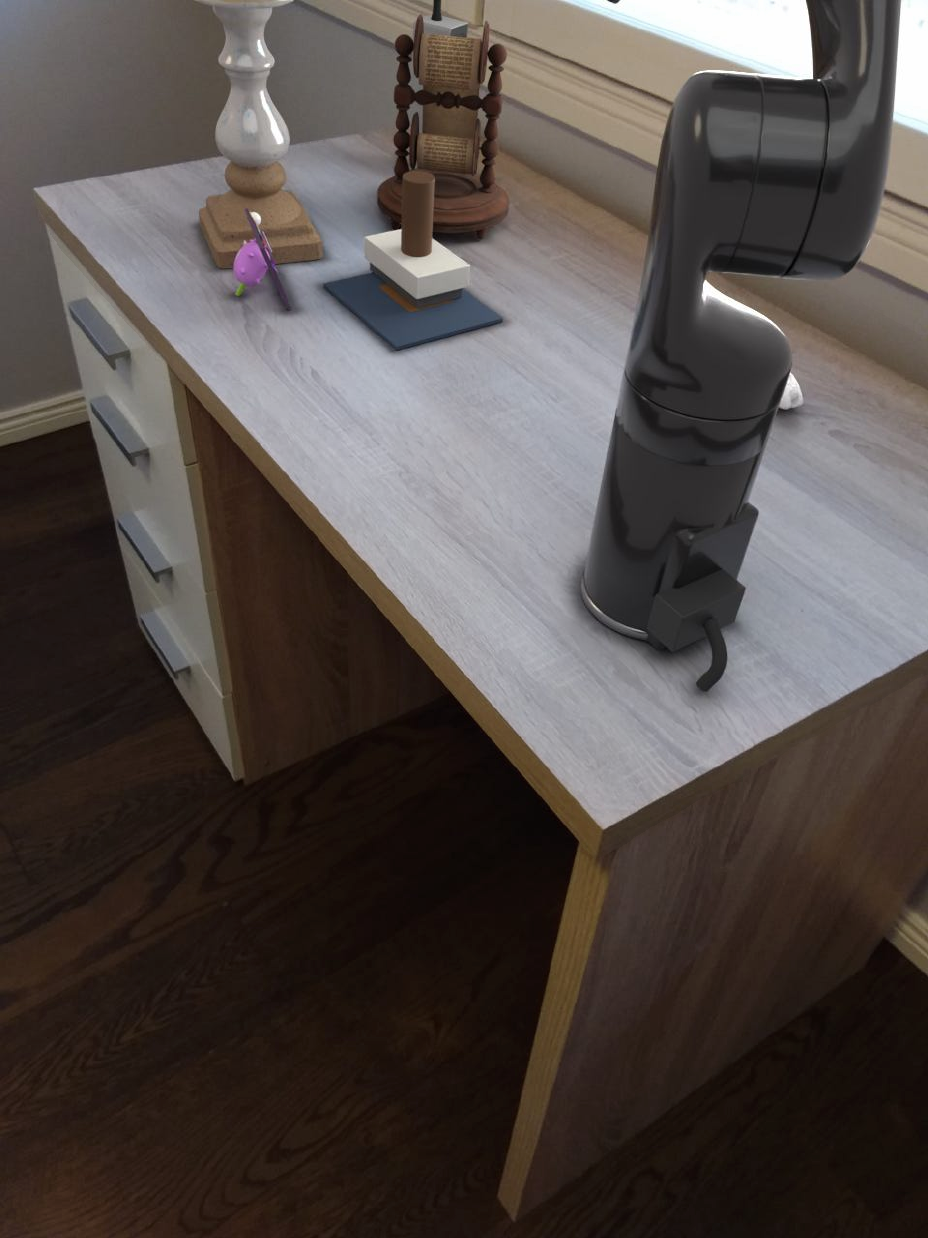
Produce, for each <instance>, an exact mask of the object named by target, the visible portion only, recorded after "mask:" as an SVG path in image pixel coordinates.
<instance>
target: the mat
mask: <svg viewBox="0 0 928 1238" xmlns="http://www.w3.org/2000/svg"><path fill="white" fill-rule="evenodd" d="M322 287H323V289H325V290H326V291H327V292H328V293H329V294H330V295H332V296H333V297H334V298H335V299H336V300H337V301H339V302H340V303H341V304H342V305H343V306H345V308H346V309H348V310H349V311H350V312H351V313H353V314H354V315H355V316H356V317H357V318H358V319H359V320H361V321H362V322H363V323H364V324H366V326H368V327H369V328H370V329H371V330H372V331H373V332H375V333H376V334H377V335H378V336H379V337H380V338H381V339H383V340H384V342H386V343H387V344H388V345H390V347H392V348H393V349H394V350H395V351H400V350H404V349H407V348H411V347H415V346H418V345H422V344H426V343H430V342H434V341H437V340H441V339H445V338H448V337H452V336H455V335H459V334H462V333H467V332H470V331H473V330H476V329H481V328H485V327H489V326H492V325H496V324H500V323H502V322H503V320H504V318H503V317H502V316H501V315H500V314H499V313H497V312H496V311H494V310H493V309H491V307H488V305H486V304H485V303H483V302H482V301H481V300H479V299H478V298H477V297H475V296H474V295H472V294H471V293H470V292H469V291H468V290H466V289H465V288H462V297H461V298H457V299H453V300H449V301H445V302H441V303H437V304H433V305H429V306H425V307H421V308H417V307H415V306H414V305H413V304H412V303H410V302H409V301H408V300H407V299H406V298H404V297H403V296H402V295H401V294H399V293H398V292H397V291H396V290H394V289H393V288H392V287H391V286H389V285H388V284H387V283H386V282H384V281H383V280H382V279H381V278H379V277H378V276H377V275H376V274H375V273H373V272H372V271H371V272H368V273H364V274H359V275H355V276H350V277H346V278H342V279H337V280H333V281H328V282H325V283H324V282H323V285H322Z"/></svg>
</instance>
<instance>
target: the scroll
mask: <svg viewBox="0 0 928 1238" xmlns="http://www.w3.org/2000/svg"><path fill="white" fill-rule="evenodd" d="M423 17H424V16H423V14H419V15H418V16H417V21H416V26H415V34H414V43H413V40H412V38H413V37H411V36H410V35H409V34H406V33H403V34H400V35H399V36H398V37H396V39H395V41H394V49H395V52H397V54H398V56H397V57H396V58H395V59H396V61H397V62H399V64H398V67H397V71H396V75H395V77H396V81H397V84H396V85H395V86H394V89H393V102H394V104H395V109H397V110H398V112H397V115H396V119H395V127H396V129H397V131H396V132H395V133H394V135H393V138H392V139H393V145H394V147H395V148H396V150H395V151H394V155H395V156H397V158H396V161H395V163H394V166H393V172H394V175H393V176H390V177H388V178H387V179H385V180H384V181H382V182H381V183H380V184H379V186H378V187H377V191H376V206H377V208H378V209H379V211H380V212H381V214H383V215H384V216H385V217H387V218H388V219H389V222H390V227H391V229H392V231H394V230H399V227H400V226H401V225H402V187H403V175H404V174H405V173H407V172H410V171H423V172H428V173H430V174H432V175H433V176H434V177H435V187H434V210H433V232H434V233H447V234H449V233H450V234H451V233H453V234H455V233H469V232H475V235H476V239H478V240H480V241H482V240H483V239H484V238H485V235H486V231H487V229H489V228H491V227H494V226H496V225H498V224H499V223H502V222H503V221H504V220H505V219H506V217H507V216H508V215H509V210H510V196H509V194H508V193H507V191H506V190H505V189H504V188H503V187H502V186H500V185H499V184H497V183H496V174H495V171H494V167H493V166H495V165H496V164H497V161H496V160H495V158H496V157H497V156H498V155H499V151H500V148H499V144H498V143H497V141H496V139H497V138H498V137H499V129H498V123H497V120H499V119H500V115H502V111H503V102H504V101H503V100H504V99H503V96H502V95H501V94H500V93H501V91H502V89H503V80H502V76H501V75H502V74H501V73H502V72H503V71H505V67H504V66H502V65H504V63H505V62H506V60H507V57H508V52H507V49H506V47H505V46H504V45H503V44H501V43H494V44H492V45H491V46H490V45H489V44H490V23H489V22H488V20H485V22H484V26H483V32H482V38H474V37H467V38H466V37H456V36H446V35H436V34H426V33H424V22H423ZM489 46H490V47H489ZM412 51H413V70H414V75H415V76H416V78H419V85H423V90H419V91H417V92H414V89H412V87H411V84H410V82H411V77H412V73H411V70H410V66H409V63H410V62H411V63H412V57H410V55H412ZM488 61H489V63H490V64H491V65H489V66H488ZM487 66H488V70H489V71H491V72H490V76H489V78H488V82H487V86H486V87H487V90H488V92H489V93H486V95H485V96H483V98H481V97H480V88H481V85H483V83H485V80H486V75H487ZM414 101H415V102H417V103H418V104H419V105H423V125H422V133H419V115H418V112H415V114H414V115H413V118H412V123H411V130H410V118H409V114H408V111H409V110H411V104H413V102H414ZM479 109H481V110H482V111H483V112H484V113H485V115H484V116H485V118H486V119H487V121H486V124H485V127H484V131H483V135H484V138H485V139H486V140H484V141H483V142H482V144H481V133H482V122H481V120H480V118H479ZM408 130H409V132H408ZM407 149H408V150H407ZM480 152H481V155H482V157H483V158H482V160H481V164H482V165H484V166H483V168H482V171H481V172H480V173H477V172H478V167H479V165H478V164H479V158H480V157H479V156H480ZM407 157H408V159H407ZM416 161H417V168H415V166H416ZM409 163H410V167H411V169H410V170H409Z"/></svg>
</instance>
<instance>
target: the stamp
mask: <svg viewBox="0 0 928 1238" xmlns="http://www.w3.org/2000/svg"><path fill="white" fill-rule="evenodd" d="M434 187H435V177H434V176H433V175H432V174H430V173H428V172H423V171H410V172H407V173H405V174H404V175H403V187H402V224H401V228H400V229H399V228H398V230H389V231H384V232H381V233H376V234H371V235H367V236H364V241H363V242H364V243H363V244H364V246H363V247H364V248H363V249H364V259H365V260H366V261H368V262H369V270H370V271H371V273H372V272H373V273H375V274H376V275H377V276H378V277H379V278H381V279H382V280H383V281H384V282H386V283H387V284H388V285H389V286H391V287H392V288H393V289H394V290H396V291H397V292H398V293H399V294H401V295H402V296H403V297H404V298H406V299H407V300H408V301H409V302H410V303H412V304H413V305H414V306H415V307H417V308H421V307H425V306H429V305H433V304H437V303H441V302H445V301H449V300H453V299H457V298H461V297H462V288H463V289H465V288H468V287H469V283H470V270H471V265H470V264H469V263H467V262H466V261H465V260H463V259H462V258H460V257H459V256H457V254H455V253H453V252H452V251H451V250H449V249H448V248H446V247H445V246H444V245H443V244H441V243H439V242H438V241H437V240H435V239H434V238H433V210H434Z"/></svg>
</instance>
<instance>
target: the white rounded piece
mask: <svg viewBox="0 0 928 1238" xmlns="http://www.w3.org/2000/svg"><path fill="white" fill-rule="evenodd" d="M803 402H804V397H803V393H802V390H801V387H800V385H799V383H798V381H797V380H796V377H795V376H794V374H792V373H791V372H790V375H789V378H788V381H787V384H786V387H785V391H784V394H783V397H782V399H781V402H780V405H779V408H778V409H782V410H789V409H794V408H798V407H801V406H802V405H803Z"/></svg>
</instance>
